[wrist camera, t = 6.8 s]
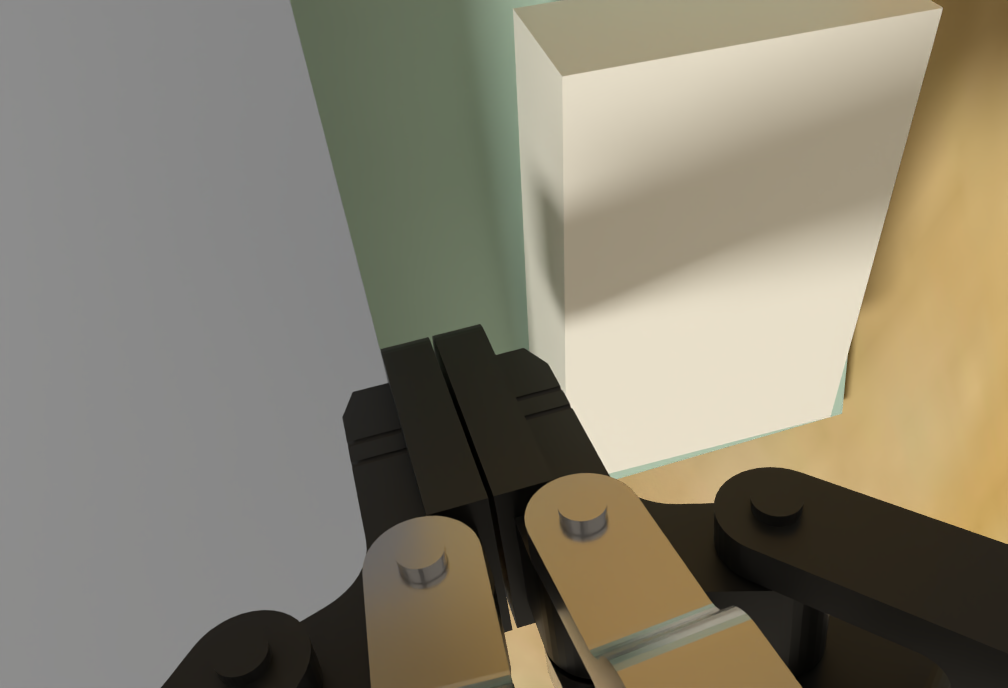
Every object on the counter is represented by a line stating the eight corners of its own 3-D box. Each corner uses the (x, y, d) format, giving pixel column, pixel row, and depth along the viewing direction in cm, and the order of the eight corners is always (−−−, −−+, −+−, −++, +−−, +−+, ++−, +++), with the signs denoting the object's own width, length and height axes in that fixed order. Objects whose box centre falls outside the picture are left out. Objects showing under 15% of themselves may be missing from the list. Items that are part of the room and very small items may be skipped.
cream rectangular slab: (943, 7, 14) (822, -68, 16) (562, 76, 13) (496, -14, 15) (830, 416, 20) (755, 316, 22) (566, 484, 19) (519, 371, 21)
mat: (220, -256, 13) (220, -256, 13) (903, -366, 15) (918, -369, 14) (422, 523, 22) (425, 534, 22) (833, 404, 24) (842, 413, 24)
